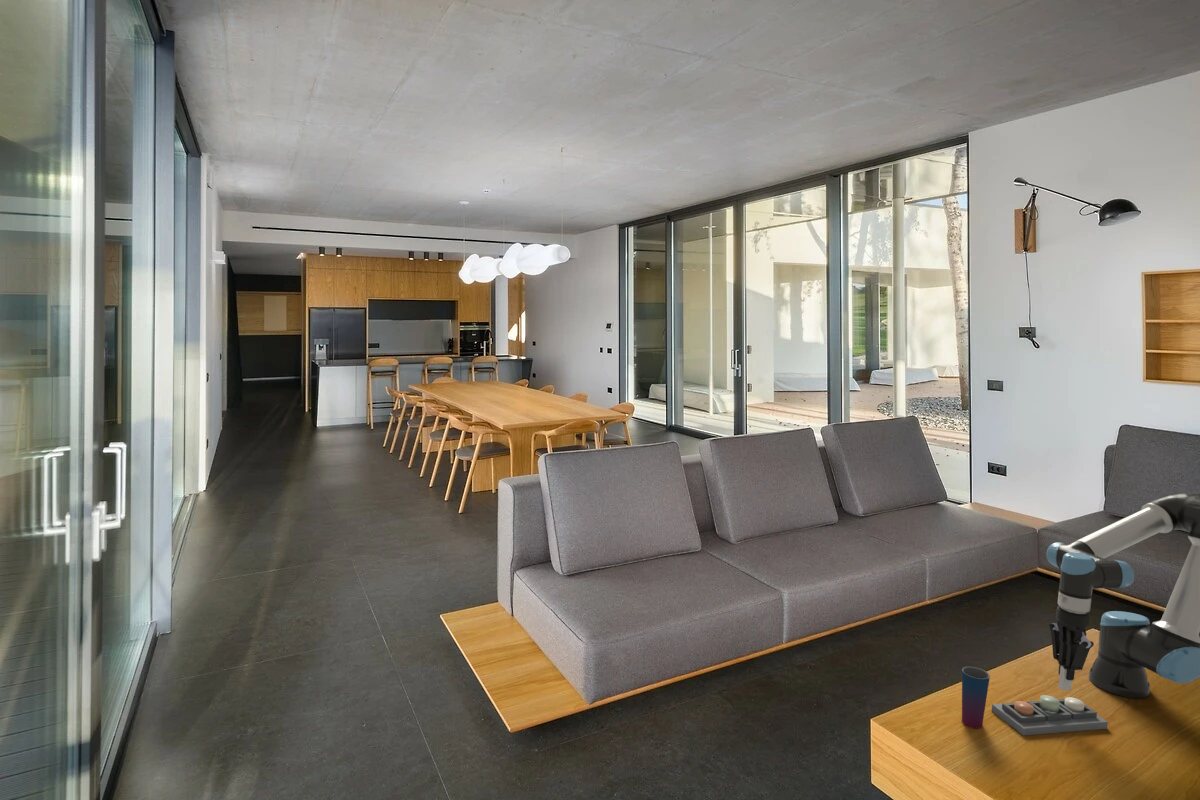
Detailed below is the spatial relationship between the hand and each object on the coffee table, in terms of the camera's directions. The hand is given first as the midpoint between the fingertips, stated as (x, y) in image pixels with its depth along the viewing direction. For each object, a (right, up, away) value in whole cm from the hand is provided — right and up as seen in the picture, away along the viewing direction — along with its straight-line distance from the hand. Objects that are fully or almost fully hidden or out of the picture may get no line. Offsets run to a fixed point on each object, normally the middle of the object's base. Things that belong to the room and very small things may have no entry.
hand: (1064, 688), depth 190 cm
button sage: (-4, -5, 0) cm, 7 cm away
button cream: (+3, -7, +1) cm, 7 cm away
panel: (-4, -9, 0) cm, 10 cm away
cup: (-27, -9, -2) cm, 29 cm away
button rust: (-12, -7, -1) cm, 14 cm away
